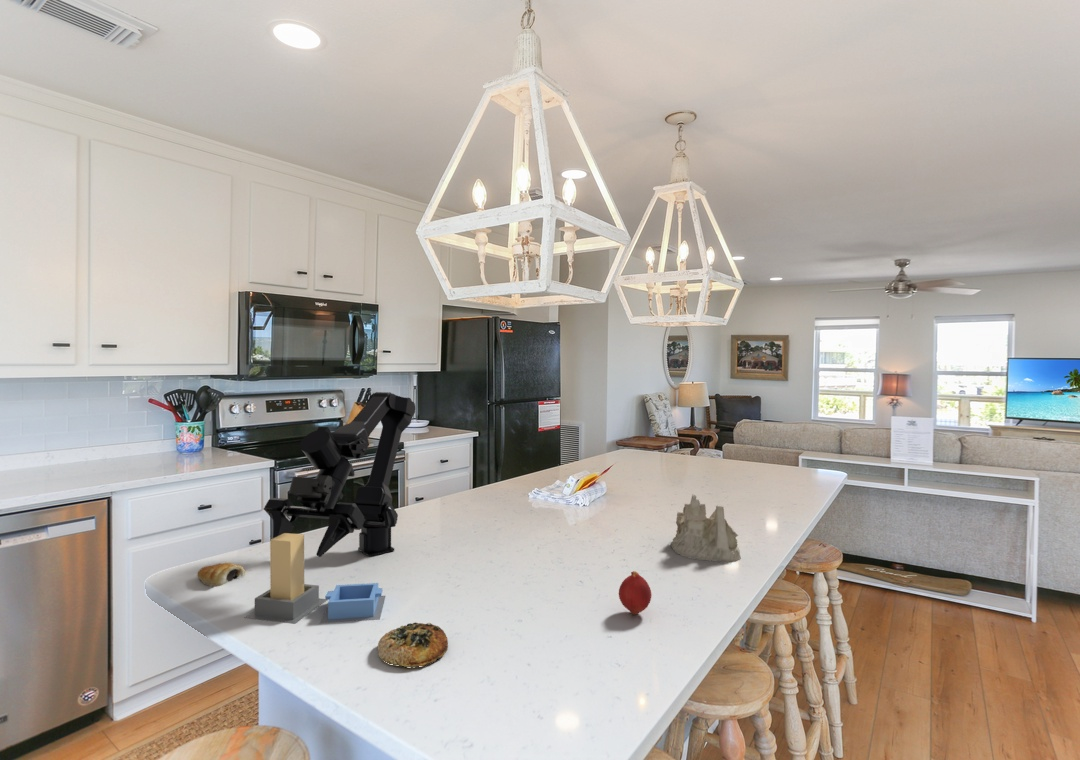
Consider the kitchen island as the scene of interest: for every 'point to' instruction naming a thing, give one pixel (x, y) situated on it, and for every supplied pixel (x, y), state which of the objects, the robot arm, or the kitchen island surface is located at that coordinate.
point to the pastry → (220, 574)
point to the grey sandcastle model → (705, 534)
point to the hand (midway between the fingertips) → (295, 554)
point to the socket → (287, 606)
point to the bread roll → (413, 645)
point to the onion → (635, 593)
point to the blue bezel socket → (354, 603)
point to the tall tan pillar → (287, 566)
